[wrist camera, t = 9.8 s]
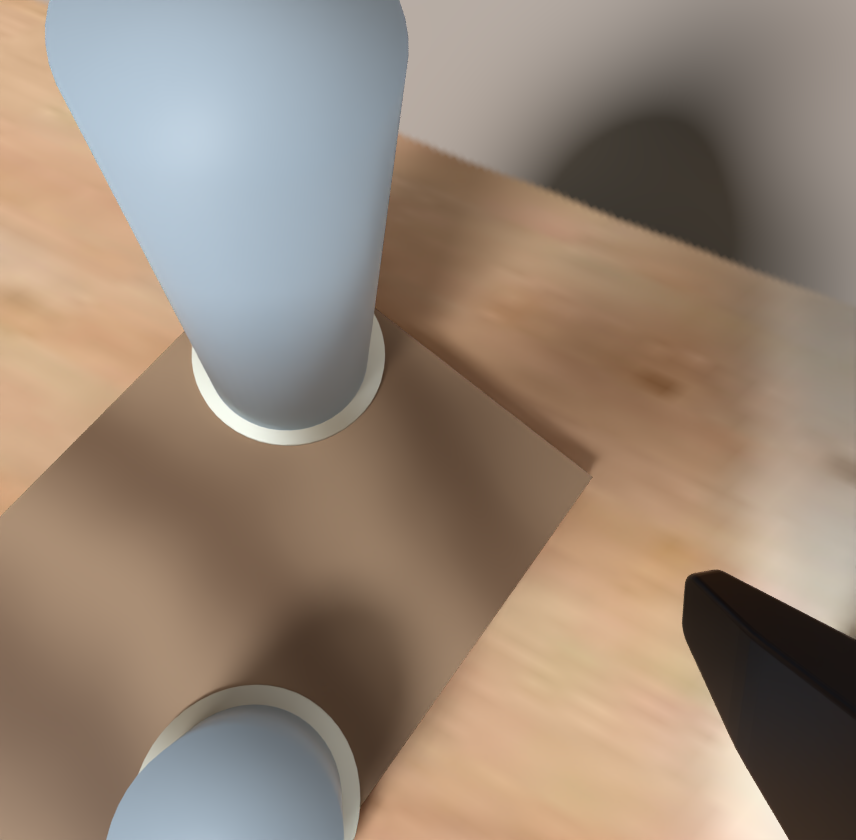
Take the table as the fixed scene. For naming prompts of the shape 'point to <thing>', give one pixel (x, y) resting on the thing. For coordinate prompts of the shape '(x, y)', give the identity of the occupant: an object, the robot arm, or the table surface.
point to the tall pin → (249, 175)
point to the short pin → (237, 783)
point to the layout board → (257, 575)
